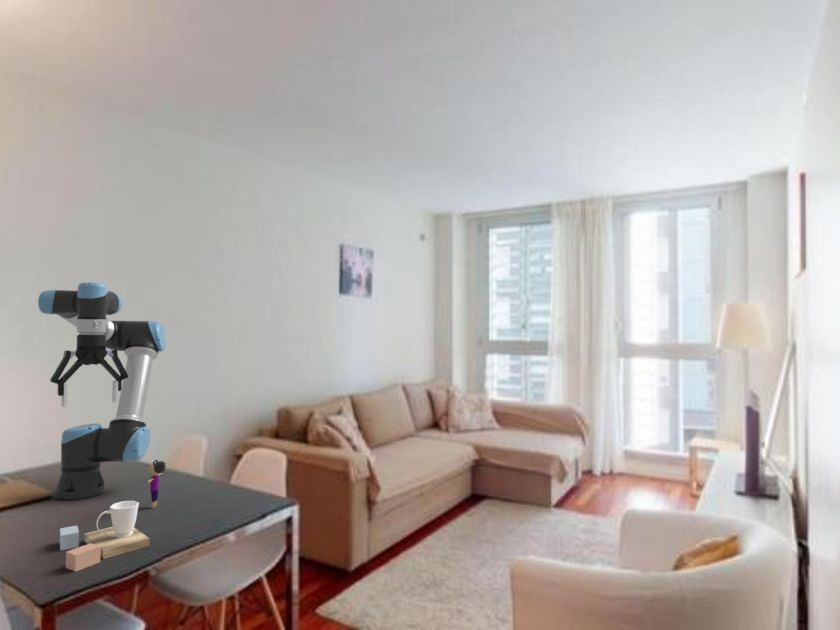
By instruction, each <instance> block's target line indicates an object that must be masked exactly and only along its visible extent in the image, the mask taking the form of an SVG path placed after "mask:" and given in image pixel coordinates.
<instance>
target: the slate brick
mask: <svg viewBox="0 0 840 630" xmlns="http://www.w3.org/2000/svg"><path fill="white" fill-rule="evenodd" d="M79 545H80V531H79V527H78V525H72V526H65V527H62V528H59V548H60V551H65V550H72V549H76V548H78V547H80V546H79Z"/></svg>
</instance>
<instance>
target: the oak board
mask: <svg viewBox="0 0 840 630" xmlns="http://www.w3.org/2000/svg"><path fill="white" fill-rule="evenodd" d="M100 530H101V531H103V532H105V533H107V534H111V535H115V534H116V533H115V532H114V529H113V526H110V527H106V528H101V529H100ZM132 531H133V534H132V535H130V536H127V537H122V538H117V537H110V536H107V535H104V534H102V533H101V532H99V531H98V529H97V530H94V531H93V530H92V531H90V532H86V533H84V534H83V536H84V537H83V541H84V542H85V543H86V545H87V544H90V543H92V544H95V545H98V546H101V554H100V558H102V559H103V560H105V559H108V558H109V559H110V558H112V557H115V556H120V555H123V554H126V553H130V552H133V551H137V550H140V549H144V548H148V547H150V543H151V541H150V540H151V539H150V537H148V535H146V534H144V533H143V532H141V531H140V530H138V529H137V528H136V527H134V529H133V530H132Z"/></svg>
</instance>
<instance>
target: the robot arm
mask: <svg viewBox="0 0 840 630" xmlns="http://www.w3.org/2000/svg"><path fill="white" fill-rule="evenodd" d="M77 286H78V287H77V290H68V289H67V290H65V289H63V290H61V289H60V290H59V289H50V290H43V291H42V292H40V294H39V297H38V299H37V306H38V308H39V311H40V312H41V313H42V314H45V315H58V317H61V318H62V319H64V320H65V321H66V322H68V323H70V324H71V325H72V326H73V327H76V332H77V333H78V334H77V335H76V349H75V351H74V350H67V349H65V350H64V352H63V356H62V357H63V358H62V359H61V361H60V362H59V365H58V366H57V367H56V369H55V370H54V373H53V374H52V376H51V378H50V383H53V384H56V385H57V396H60V397H61V405H60V406H61V407H62V408H68V384H67V383H66V382H68V380H69V379H70V378H71V377H72V376H73V375H74V374H75V373H76V372H77V370H79V369H80V368H81V367H83V365H85V366H90V365H93V366H95V365H96V366H97V365H99V364H100V365H101V366H102V367H103V369H105V370H106V371H107V372H108V373H109V374H110V375H111V377H113V379H115V380H112V392H111V393H112V395H111V397H112V398H111V399H112V400H111V401H112V403H118V405H117V409H116V414H115V417H114V418H113V419H111V420H110V421H109V424H108V427H105V428H104V427H103V426H102V424H101V423H89V424H82V425H78V426H73V427H69V428H67V429H66V430H64V431H63V432H62V434H61V441H60V442H61V443H60V448H61V449H60V474H59V478H58V480H57V483H56V484H55V488H54V489H53V490H54V493H53V495H54V496H53V497H54V498H55V499H56V500H64V501H65V500H66V501H67V500H68V501H70V500H81V499H82V500H83V499H87V498H92V497H95V496H99V495H101V494H102V493H104V492H106V490H107V487H106V486H107V485H106V480H105V477H104V475H103V472H102V469H101V463H120V462H121V463H122V462H124V463H129V462H138V461H139V460H141V459H142V458H143V457H144V456H145V454H146V453H147V451H148V448H149V446H150V445H149V444H150V442H151V441H150V440H151V438H150V436H151V430H150V428H149V427H147V422H146V421H145V420H143V419H144V412H145V406H146V400H147V395H148V389H149V384H150V383H149V382H150V378H151V372H152V365H153V360H156V359H157V358H158V356H159V352H163V351H165V349H166V334H165V330H164V327H163V324H162V323H161V322H159V321H154V320H146V321H145V320H139V321H138V320H110V319H109V318H107V316H111V315H114V314H117V313H119V312H120V310H121V309H122V307H123V303H124V302H123V299H122V298H121V296H120V295H119V294H118V293H116V292H114V291H111V290H109V291H108V290H107V289H108V288H107V285H106V284H105V283H102V282H80V283H79V284H78V285H77ZM107 349H109V350H107ZM118 352H124V355H125V356H126V357H127V360H126V365H125V367H124V365H123V362H121V359H120V357H119V356H118V355H119V354H118ZM107 355H108V356H109V357H111V359H112V362H113V363H114V365H115V367H116V368H117V371H118V372H119V373H118V372H117V371H116V370H115V369H114V368H113V367H112V365H110V363H108V361H107V360H106V359H105V358H106V356H107ZM74 356H75V357H76V359H77V360H75V361H74V362H73V364H72V365H71V366H70V367H69V368H68V369H67V371H66V372H65V373H64V374H63V372H64V370H65V369H66V367H67V365H68V363H69V362H70V360H71V359H73V357H74ZM62 374H63V375H62ZM119 392H120V396H119Z"/></svg>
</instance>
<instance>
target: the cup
mask: <svg viewBox="0 0 840 630" xmlns="http://www.w3.org/2000/svg"><path fill="white" fill-rule="evenodd" d="M139 506H140V502H138V501H135V500H124V501H123V500H122V501H118V502H114V503H113V504H112V505H110V506H109V510H105V511H102V512H101V513H99V515H98V516H97V519H96V528H97V530H98V531H99V532H101V533H102V534H104V535H107V536H110V537H117V538H122V537H127V536H130V535H132V534H133V531H132V530H133V529H134V528H135V525H136V522H137V517H138V516H137V515H138V511H139ZM104 514H110V519H111V524H112V527H113V529H114V532H115V533H116V534H115V535H111V534H107V533H105V532H103V531H101V529H100V528H99V520H100V518H101V517H102V516H103V515H104Z"/></svg>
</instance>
